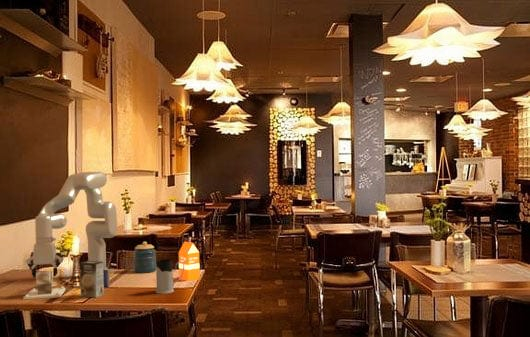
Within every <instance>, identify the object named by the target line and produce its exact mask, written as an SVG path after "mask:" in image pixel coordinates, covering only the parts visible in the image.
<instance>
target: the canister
mask: <svg viewBox="0 0 530 337" xmlns="http://www.w3.org/2000/svg"><path fill="white" fill-rule="evenodd" d="M154 248H155V246H154V245H152V244H148V242H147V241H143V242H142V243H141V244H138V245H136V246H135V247H134V251H133V271H134V273H136V274H149V273H155V272H156V266H157V262H156V261H157V260H156V259H157V255H156V252H157V250H156V249H154Z"/></svg>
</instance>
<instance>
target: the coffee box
mask: <svg viewBox="0 0 530 337" xmlns="http://www.w3.org/2000/svg"><path fill="white" fill-rule="evenodd" d="M79 269H80V270H79V272H80V297H82V298H83V297H86V298H99V297H102V296H104V291H105V290H104V288H105V287H104V279H103V262H101V261H88V260H86V261H82V262H80V268H79Z"/></svg>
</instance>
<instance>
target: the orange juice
mask: <svg viewBox="0 0 530 337" xmlns="http://www.w3.org/2000/svg"><path fill="white" fill-rule="evenodd" d="M178 262H182V263H178V276H179V277H178V279H179V278H180V276H181V275H182V272H183V264H184V272H183V275H182V277H181V278H180V279H179V280H182V281H187V282H190V281H197V280H201V279H200V278H201V276H200V274H201V273H200V272H201V271H200V268H201V267H200V251H199V249H198V248H197V247H196V245H195V244H194V242H190V241H184V242H183V244H182V246H181V247H180V249H179V251H178Z"/></svg>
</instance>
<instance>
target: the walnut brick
mask: <svg viewBox="0 0 530 337" xmlns="http://www.w3.org/2000/svg"><path fill="white" fill-rule="evenodd" d="M52 289H53V281H52V282H51V283H50V284H37V290H38V295H42V294H51V293H52Z"/></svg>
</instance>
